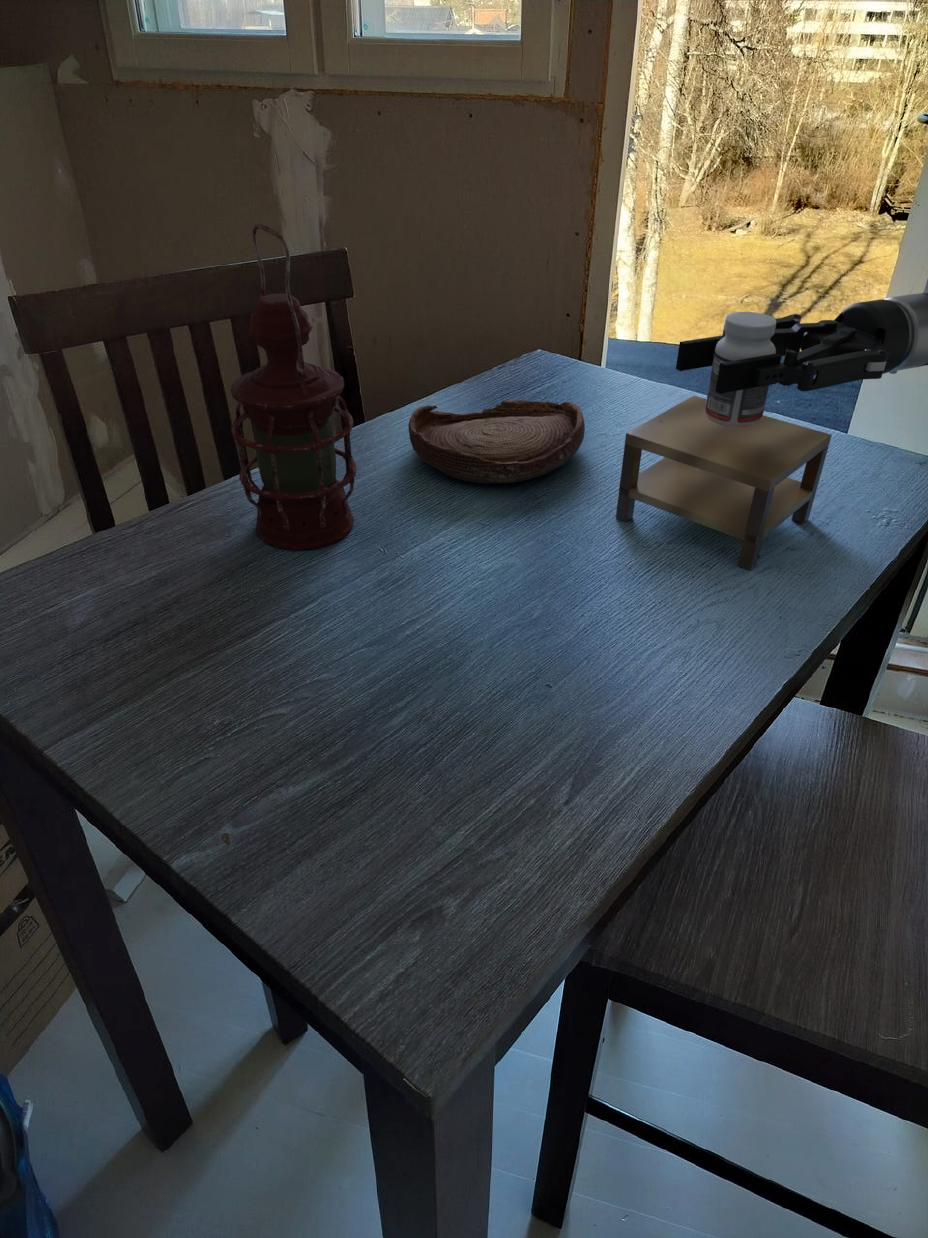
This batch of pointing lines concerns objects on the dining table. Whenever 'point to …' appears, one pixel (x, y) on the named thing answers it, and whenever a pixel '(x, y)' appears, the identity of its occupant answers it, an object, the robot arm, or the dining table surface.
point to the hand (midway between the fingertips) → (699, 367)
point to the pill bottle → (740, 342)
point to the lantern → (292, 429)
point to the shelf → (723, 472)
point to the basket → (498, 440)
